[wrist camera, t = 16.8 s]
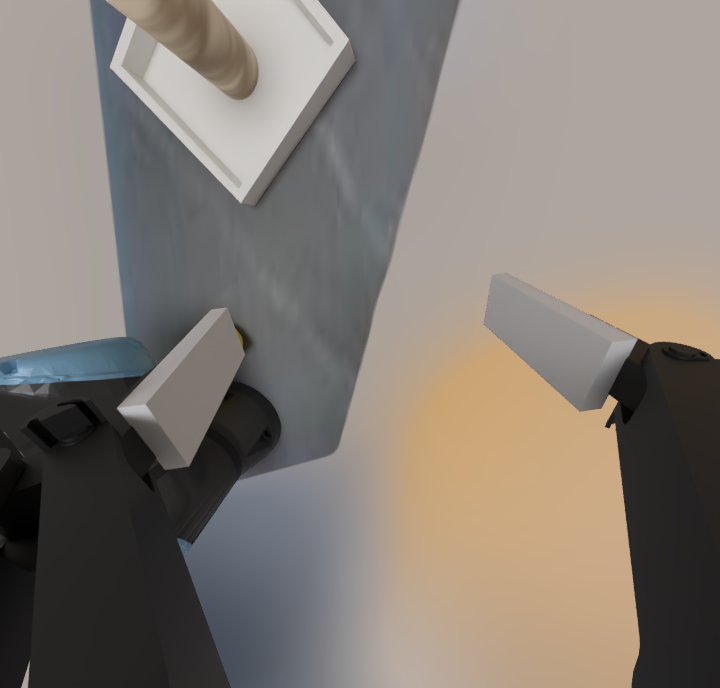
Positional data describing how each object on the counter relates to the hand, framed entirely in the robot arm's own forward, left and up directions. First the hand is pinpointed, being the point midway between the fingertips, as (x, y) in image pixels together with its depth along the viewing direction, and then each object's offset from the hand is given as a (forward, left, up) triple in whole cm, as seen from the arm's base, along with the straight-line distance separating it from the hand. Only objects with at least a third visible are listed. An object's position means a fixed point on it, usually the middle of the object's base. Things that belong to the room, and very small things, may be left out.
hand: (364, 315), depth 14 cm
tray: (+2, +26, -21) cm, 34 cm away
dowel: (+2, +26, -21) cm, 34 cm away
